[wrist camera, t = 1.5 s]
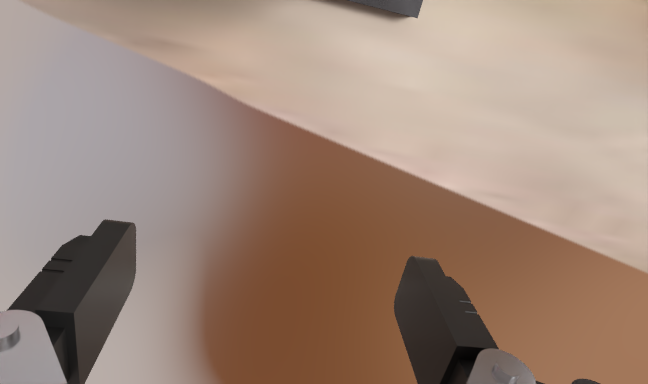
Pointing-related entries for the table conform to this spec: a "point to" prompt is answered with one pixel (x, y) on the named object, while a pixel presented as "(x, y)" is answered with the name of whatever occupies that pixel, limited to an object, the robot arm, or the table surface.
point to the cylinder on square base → (395, 6)
